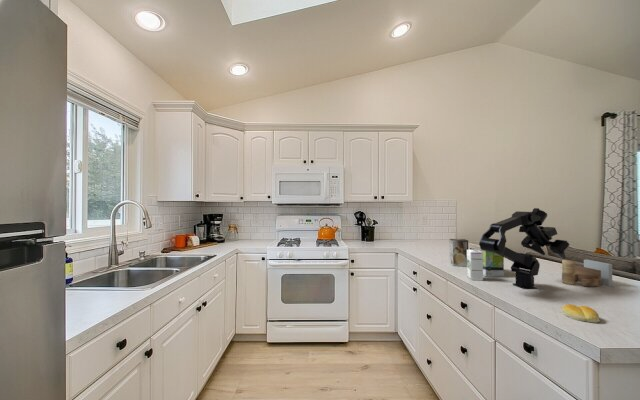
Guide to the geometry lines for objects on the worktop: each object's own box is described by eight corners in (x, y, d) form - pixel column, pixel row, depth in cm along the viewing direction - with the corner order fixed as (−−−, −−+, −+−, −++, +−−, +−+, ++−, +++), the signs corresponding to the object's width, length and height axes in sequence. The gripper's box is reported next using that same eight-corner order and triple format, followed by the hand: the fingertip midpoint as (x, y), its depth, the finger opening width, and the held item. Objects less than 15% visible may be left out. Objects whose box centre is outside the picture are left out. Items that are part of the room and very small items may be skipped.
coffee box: (464, 264, 160) (464, 238, 160) (469, 266, 154) (469, 240, 154) (449, 263, 162) (449, 238, 162) (452, 266, 155) (452, 239, 155)
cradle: (585, 286, 117) (585, 271, 117) (561, 279, 127) (561, 265, 127) (601, 285, 118) (600, 270, 118) (576, 279, 128) (576, 265, 128)
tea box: (504, 277, 133) (504, 248, 133) (485, 277, 133) (485, 248, 133) (486, 269, 148) (486, 244, 148) (468, 269, 148) (468, 244, 148)
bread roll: (559, 310, 92) (558, 299, 92) (594, 316, 87) (593, 304, 87) (565, 319, 85) (565, 307, 85) (603, 326, 80) (603, 313, 80)
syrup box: (483, 280, 126) (483, 251, 126) (470, 280, 127) (470, 251, 127) (478, 277, 132) (478, 249, 132) (466, 276, 133) (466, 249, 133)
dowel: (569, 285, 119) (569, 262, 119) (559, 282, 124) (559, 260, 124) (577, 285, 120) (577, 261, 120) (567, 282, 124) (567, 259, 124)
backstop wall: (608, 285, 119) (608, 264, 119) (583, 279, 129) (583, 259, 129) (612, 285, 119) (612, 264, 119) (587, 279, 129) (587, 259, 129)
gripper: (566, 222, 111) (587, 248, 112) (526, 219, 130) (545, 241, 131) (550, 239, 110) (571, 265, 111) (512, 234, 129) (531, 257, 130)
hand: (554, 256), depth 121 cm, fingers open, 9 cm apart
